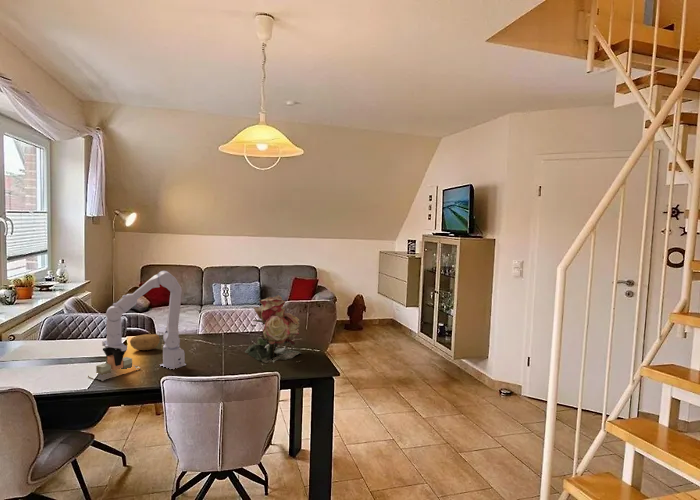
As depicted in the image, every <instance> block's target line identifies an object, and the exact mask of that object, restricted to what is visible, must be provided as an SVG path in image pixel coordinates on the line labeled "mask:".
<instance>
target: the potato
mask: <svg viewBox="0 0 700 500" xmlns="http://www.w3.org/2000/svg"><path fill="white" fill-rule="evenodd" d="M160 342H161V339H160V336H159V334H157V333H156V334H155V333H154V334H146V333H145V334H140V335H134V336H133V337H132V338H131V339H130V340H129V343H130V346H131V347H132V348H133V349H135V350H136V351H139V350H147V351H150V350H151V351H152V350H154V349H155V348H157V346H158V345H159V343H160Z"/></svg>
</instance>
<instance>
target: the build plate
mask: <svg viewBox="0 0 700 500" xmlns="http://www.w3.org/2000/svg"><path fill="white" fill-rule="evenodd" d="M132 365H133V366H135V368H136V369H137V368H141V367H140V366H138V365H134V364H133V358H131V357H128V356H125V357H123V368H121V369H127V368H131V367H132ZM95 367H96V369H95V371H96V373H99V374H101V375H103V374H107V373H111V365H110V364H107V362H106V363H104V362H103V363H101V364H100V363H99V364H97V365H95Z"/></svg>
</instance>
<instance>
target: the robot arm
mask: <svg viewBox="0 0 700 500" xmlns="http://www.w3.org/2000/svg"><path fill="white" fill-rule="evenodd" d="M160 285H161V286H160ZM160 287H163V288H166V289H167V290H168V291H169V292H170V293H169V294H170V295H169V302H168V303H169V304H168V314H167V324H166V327H165V332H164V333H163V335H162V340H163V342H164V344H163V346H162V362H163V363H160V364H159V365H160V366H159V367H161V366H163V367H162V368H164V367H166V368H165V369H168V368H169V369H168V370H171V369H173V370H176V369H178V368H182V367H184V366H185V367H186V366H187V363H185V362H186V361H185V359H186V358H185V355H186V354H185V350H184V349H183V348H181V344H180V343H181V338H180V336H179V332H180V331H179V321H180V312H181V301H182V294H183V288H182V287H181V285H180V283H179V282H178V280H177V278H176V277H175V276H174V275H173V274H171V272H169V271H167V270H160V271H159V272H158V273H157V274H154V275H153V276H152V277H151V278H149V279H148V280H147V281H146V282H145V283H143V284H142V285H141V286H140V287H139V288H137V289H136V290H135V291H134V292H132V293H127V294H123V295H122V296H121V297H122V298H120V299H119V300H118V301H116V302H113V303H112V305H111V306H109V307H108V308H107V310H106V312H105V313H106V314H105V315H106V317H107V318H106V340H103V341H102V342H101V344H102V345H101V346H102V347H103V348H102V351H103V353H104V354H105V356H106V358H107V356H110V355H114V359H115V365H116V366H118V365H121V362H122V358H124V355H125V353H126V352H127V351H128V345H125V344H124V343H123V342H122V341H123V339H122V338H123V337H122V336H123V335H122V334H123V333H122V332H123V331H122V328H123V327H122V316H123V315H124V314H126V313H127V312H128V311H129V310H131V309H132V308H133V307H135V306H136V305H137V303H138V299H139V298H141V297H143V296H144V295H145V294H147V293H148V292H149V291H151V290H152V289H155V288H160ZM175 368H176V369H175Z"/></svg>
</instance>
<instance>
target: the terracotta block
mask: <svg viewBox="0 0 700 500" xmlns="http://www.w3.org/2000/svg"><path fill="white" fill-rule="evenodd" d="M123 358H124V357H123ZM123 358H122V362H121V365H118V366H116V365H115V359H114V355H110V356H107V357H106V359H107V360H106V361H107V362H106V363H107V364H110V365H111V370H117V369H120V368H123Z"/></svg>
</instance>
